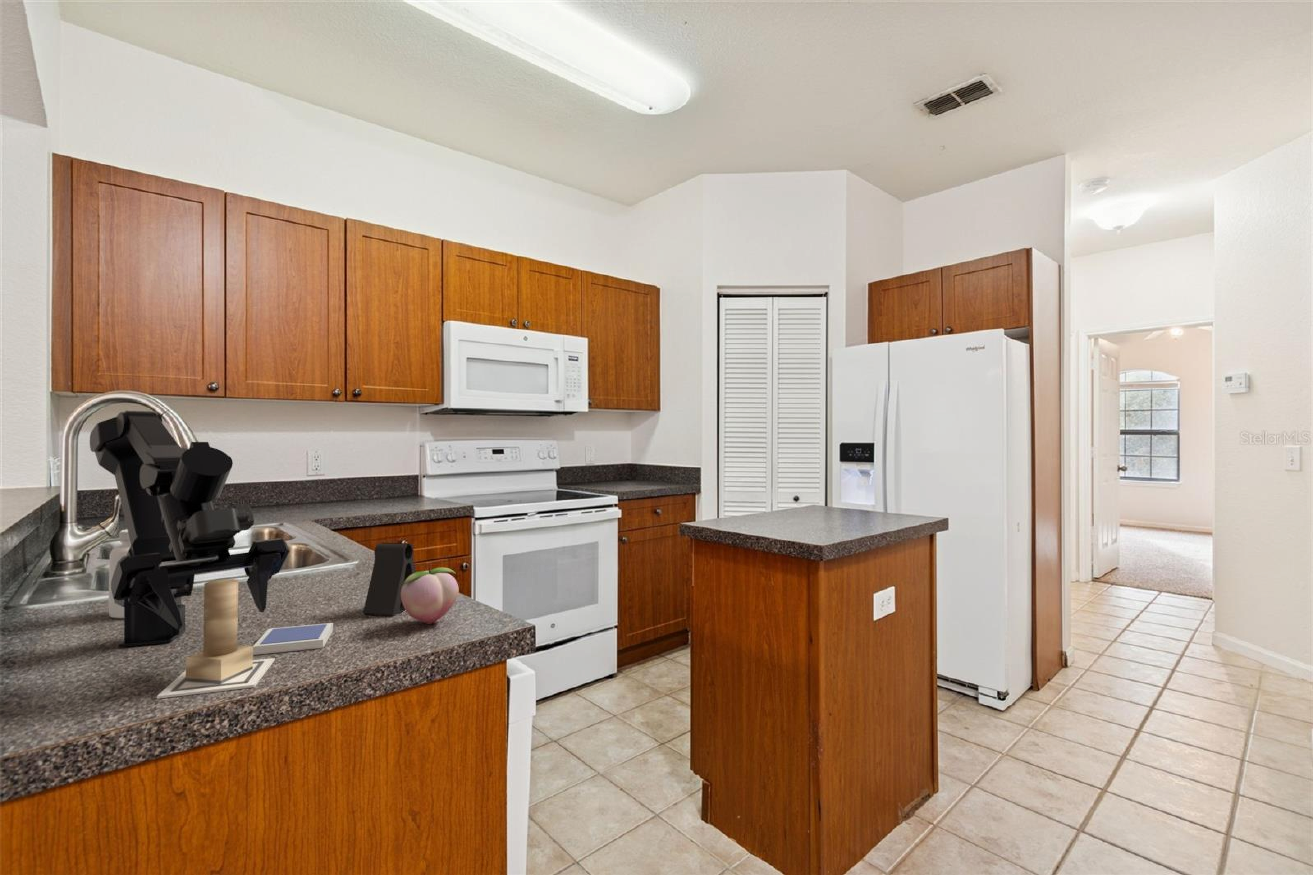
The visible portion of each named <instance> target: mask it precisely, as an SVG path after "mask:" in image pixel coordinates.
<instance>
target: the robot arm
mask: <svg viewBox="0 0 1313 875" xmlns="http://www.w3.org/2000/svg"><path fill="white" fill-rule="evenodd" d="M162 417H163V416H162V415H161V413H159V412H155V411H148V410H147V411H145V410H142V411H141V410H125V411H120V412H119V413H118V414H117V416H114V417H112V418H108V419H105V420H102V421H100V422H97V423H96V425H95V426H94V427H93V428H92V430H91V431H90V436H89V449H90V451H91V452H93V453H95V456H96V460H97V463H98V465H99V467H101V468H102V469H104V470H106V471H107V472H109V473H110V474H112V475H113V476H114V478H115V483H116V486H117V491H118V494H119V500H120V503H121V509H122V511H123V516H124V520H125V525H126V529H127V530H128V534H129V538H130V543H131V547H130V549H129V550H128V553H127V555H126V556H124V557H122V558H121V559H120V560H119V561H118V562H117V565H116V568H115V571H114V574H113V577H112V580H111V590H112V594H113V599H114V602H115V603H116V604H118V605H120V606H122V607H124V618H123V636H124V637H123V640H122V641H121V642H119V643H118V647H119V648H121V647H123V648H124V647H132V646H143V645H144V646H146V645H155V644H165V643H170V642H172V641H173V640H175V639H176V638H178V637H179V636H181V635H182V634H184V632H186V630H187V629H186V604H182V598H183V597H190V596H192V594H193V590H194V583H195V576H200V575H206V574H214V573H219V572H220V573H221V572H229V571H233V570H234V571H235V570H239V569H240V570H241V569H244V572H245V575H246V576H247V577H248V578H247V580H246V584H247V587H248V590H249V592H250V594H251V596H252V599H253V601H254V604H255V607H256V608H257V610H258V611H259V613H264V612H265V610H266V609H267V608H266V607H267V599H268V598H267V596H268V588H269V587H268V586H269V581H270V580H271V579H272V577H273V576H275V575H277V574H279V573H280V571H281V568H283V566H284V563H285V561H286V559H287V557H288V555H289V553H290V548H289V546H288V543H287V541H285V539H283V538H280V537H277V538H271V539H270V538H269V539H261V540H253V541H252V543H251V546H250V547H249V550H248V552H241V553H240V552H239V553H234V554H233V553H232V554H231V553H230V549H233V548H234V547H235V545H236V543H237V542H236V540H235V536H236V535H237V534H240V533H241V531H248V530H250V529H251V528H252V526H254V524H255V518H254V514H253V510H252V509H251V507H250V504H240V505H239V504H238V505H234V506H233V507H232V508H230V507H229V508H217V509H215V506H214V505H213V501H215V500H218V499H219V498H220V497H221V494H222V491H223V489H224V487H225V485H226V482H227V480H228V478H229V475H230V472H231V470H232V468H233V463H234V462H233V459H232V456H229V455H228V454H227V453H226V452H224V451H222V450H220V449H218V448H215V447H212V446H210V443H209V442H208V441H191V442H190V445H189V447H188V448H184V447H182V446H180V445H179V443H178V441H176V439H175V438H174V436H172V434H171V432H170V431H169V430H168V428H166V426H165V425H164V423H163V418H162ZM159 496H164V497H163V498H162V499H161V501H160V500H159Z"/></svg>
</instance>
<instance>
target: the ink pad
mask: <svg viewBox="0 0 1313 875" xmlns="http://www.w3.org/2000/svg"><path fill="white" fill-rule="evenodd" d="M333 631H334V623H333V622H329V623H318V624H317V623H316V624H305V625H294V626H284V627H272V628H268V629H267V630H266V631H265V632H264V633H263V635H262V636H260V638H259V639H258V640H257V641H256V642H255V643H254V645H253V646H252V647H253V656H258V655H266V654H267V655H268V654H275V653H277V654H278V653H284V652H293V651H296V652H297V651H305V650H306V651H307V650H314V649H315V650H316V649H324V647H325V646H326V643H327V642H328V640H329V638H330V636H331V635H332V633H333Z"/></svg>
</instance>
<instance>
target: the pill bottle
mask: <svg viewBox="0 0 1313 875" xmlns="http://www.w3.org/2000/svg"><path fill="white" fill-rule="evenodd" d="M118 534H119V536H118V537H119V543H121V544H120V545H117V546H115V547H114V548H112V550H111V551H110V552H109V553H110V554H109V563H108V564H109V568H108V569H109V570H108V571H109V573H108V616H109V617H110V618H113V619H124V607H122V606H120V605H118V604H116V603H115V602H114V599H113V594H112V590H111V580H112V577H113V574H114V571H115V568H116V565H117V562H118V561H119V560H120V559H121V558H122V557H124V556H126V555H127V553H128V550H129V549H130V547H131V543H130V538H129V534H128V530H127V528H126V529H122V530H120V531H119V533H118Z"/></svg>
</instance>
